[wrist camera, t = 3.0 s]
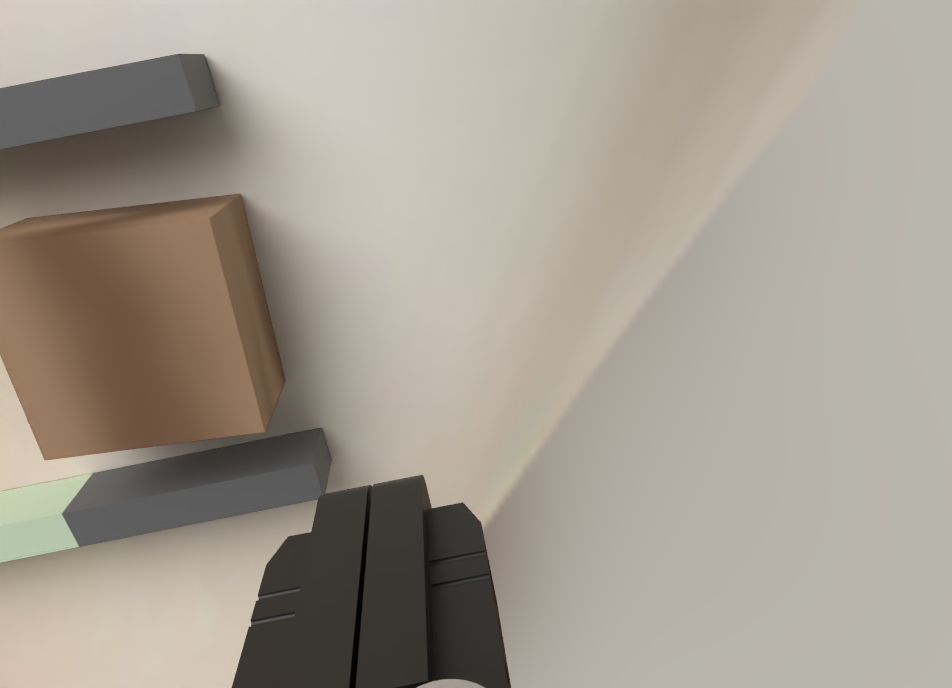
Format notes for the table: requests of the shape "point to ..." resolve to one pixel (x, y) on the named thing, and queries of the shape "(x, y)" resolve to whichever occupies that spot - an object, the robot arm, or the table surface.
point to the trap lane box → (168, 480)
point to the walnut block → (137, 326)
